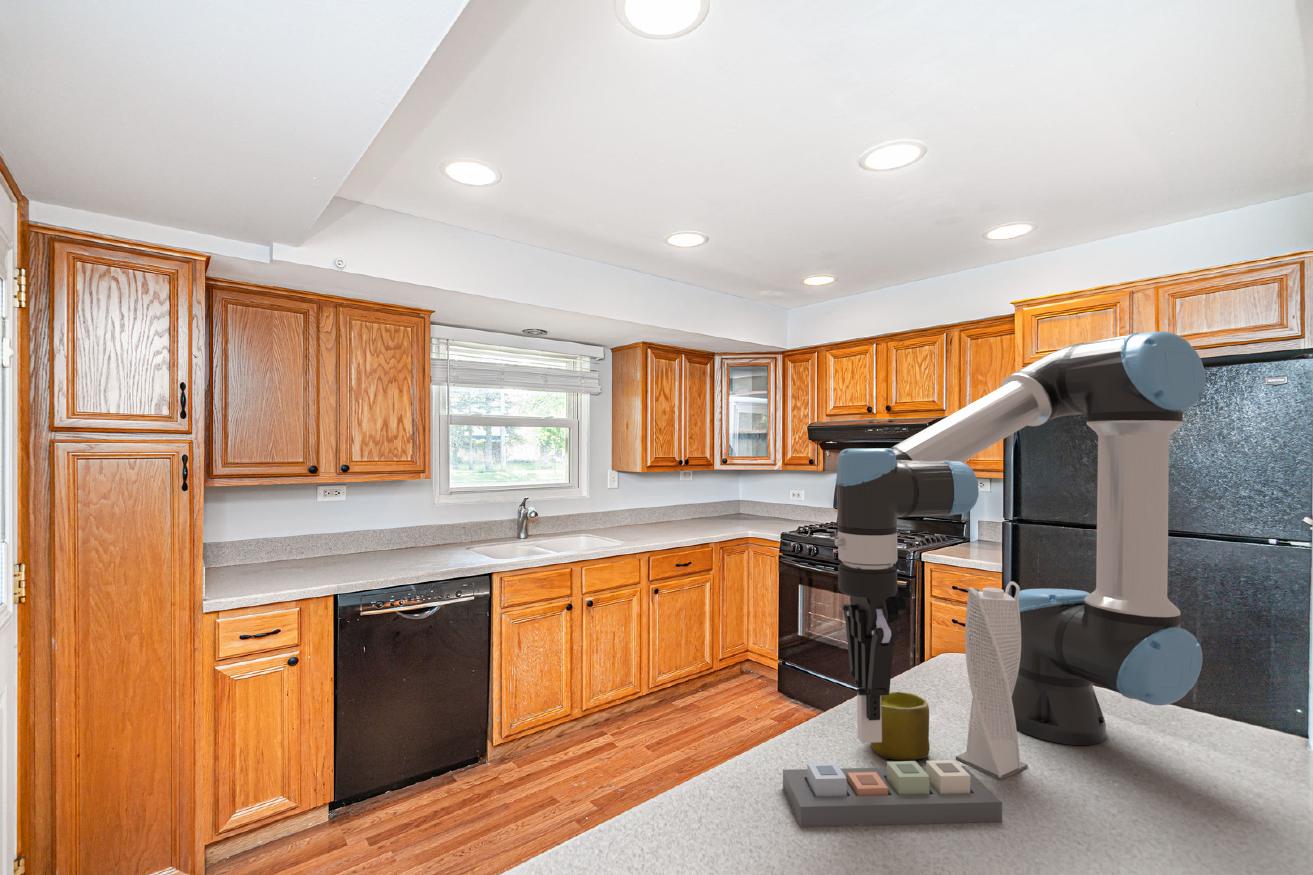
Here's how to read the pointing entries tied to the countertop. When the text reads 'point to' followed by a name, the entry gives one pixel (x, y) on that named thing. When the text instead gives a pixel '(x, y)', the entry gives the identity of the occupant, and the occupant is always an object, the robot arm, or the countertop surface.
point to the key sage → (907, 778)
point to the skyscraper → (993, 680)
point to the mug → (904, 727)
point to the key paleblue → (826, 780)
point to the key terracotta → (866, 784)
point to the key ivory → (948, 777)
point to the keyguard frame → (889, 804)
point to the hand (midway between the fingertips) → (869, 739)
